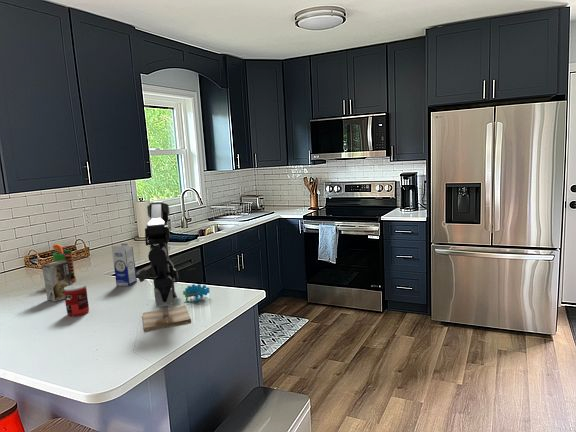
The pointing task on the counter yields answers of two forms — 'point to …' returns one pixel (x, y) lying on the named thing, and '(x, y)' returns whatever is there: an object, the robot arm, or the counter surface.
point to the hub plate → (165, 317)
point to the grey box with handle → (159, 299)
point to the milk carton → (124, 265)
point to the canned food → (76, 300)
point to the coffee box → (56, 279)
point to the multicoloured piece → (64, 259)
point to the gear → (195, 291)
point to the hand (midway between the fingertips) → (164, 299)
